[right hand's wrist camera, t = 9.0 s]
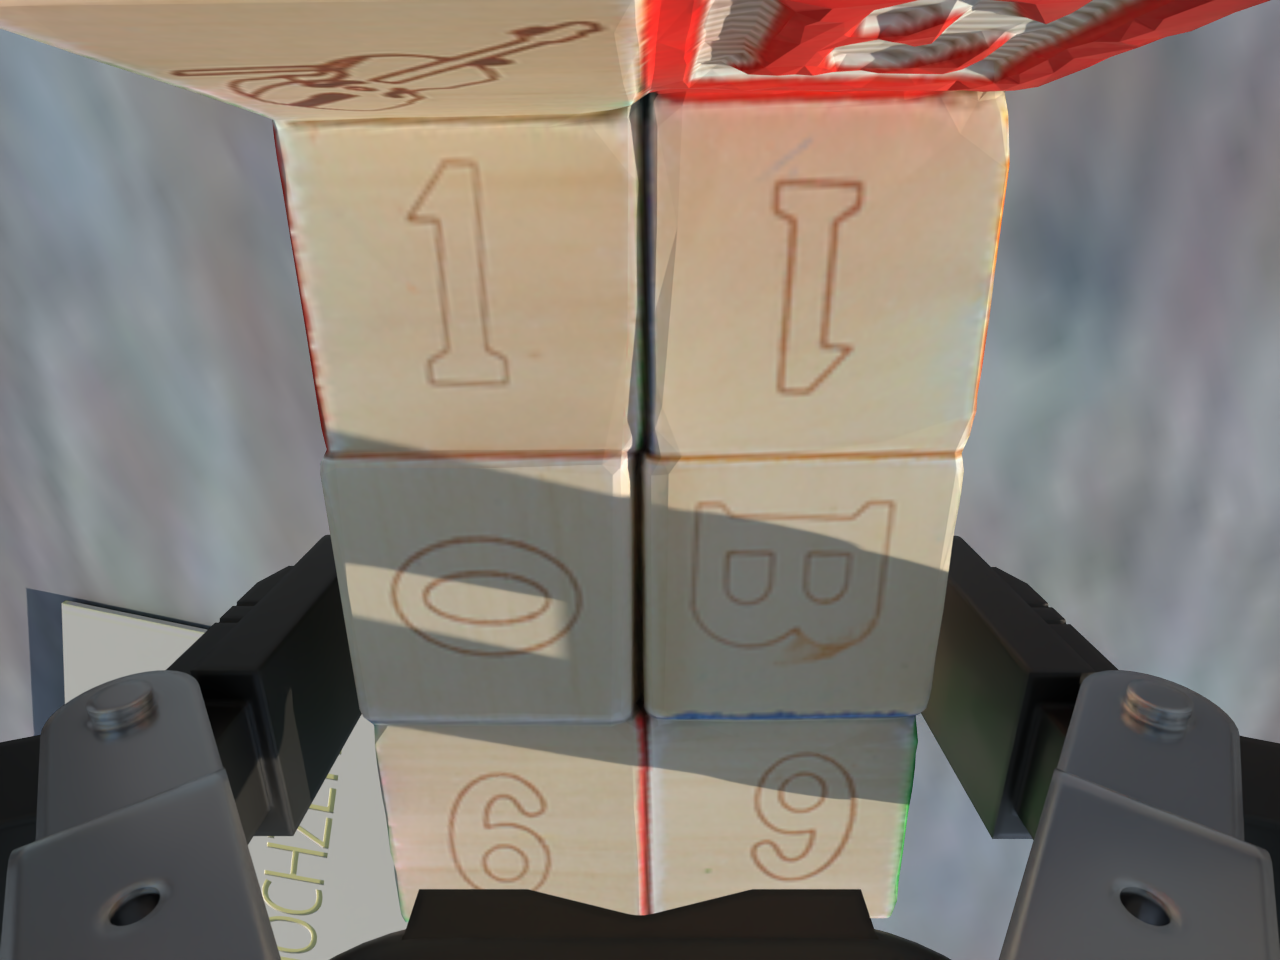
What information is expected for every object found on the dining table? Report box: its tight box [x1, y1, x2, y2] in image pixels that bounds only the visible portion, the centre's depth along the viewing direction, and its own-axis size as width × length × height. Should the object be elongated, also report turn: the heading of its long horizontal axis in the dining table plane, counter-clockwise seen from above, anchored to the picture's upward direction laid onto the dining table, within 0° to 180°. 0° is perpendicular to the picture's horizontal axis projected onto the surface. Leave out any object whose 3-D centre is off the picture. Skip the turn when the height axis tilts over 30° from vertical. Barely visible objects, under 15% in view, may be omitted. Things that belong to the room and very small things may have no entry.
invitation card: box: [62, 600, 408, 960], centre depth 30 cm, size 21×1×15 cm
